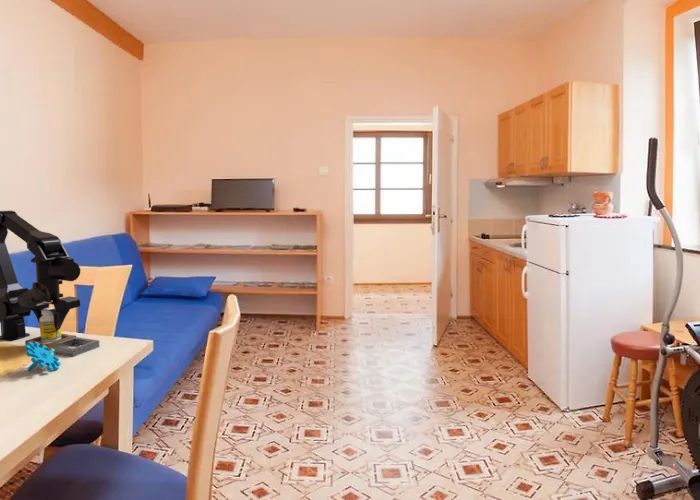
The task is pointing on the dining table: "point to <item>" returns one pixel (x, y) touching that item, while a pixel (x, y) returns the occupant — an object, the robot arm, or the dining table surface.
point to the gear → (42, 356)
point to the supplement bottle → (48, 327)
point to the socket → (85, 346)
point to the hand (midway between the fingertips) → (50, 328)
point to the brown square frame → (38, 339)
